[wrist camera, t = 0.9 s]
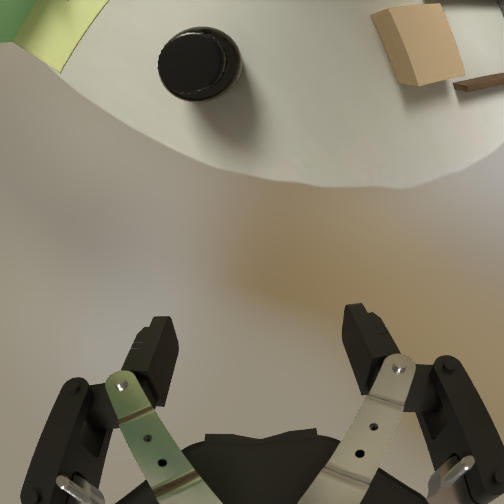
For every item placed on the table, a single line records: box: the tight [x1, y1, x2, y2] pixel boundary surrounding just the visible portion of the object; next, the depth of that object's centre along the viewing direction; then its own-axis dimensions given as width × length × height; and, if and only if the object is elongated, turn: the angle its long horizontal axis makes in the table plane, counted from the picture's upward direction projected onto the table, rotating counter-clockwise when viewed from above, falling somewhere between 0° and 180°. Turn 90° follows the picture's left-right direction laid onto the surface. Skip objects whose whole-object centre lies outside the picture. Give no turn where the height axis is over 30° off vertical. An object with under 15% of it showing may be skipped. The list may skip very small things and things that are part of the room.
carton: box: [370, 3, 465, 86], centre depth 21 cm, size 9×8×5 cm
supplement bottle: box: [158, 27, 242, 102], centre depth 21 cm, size 7×7×12 cm
